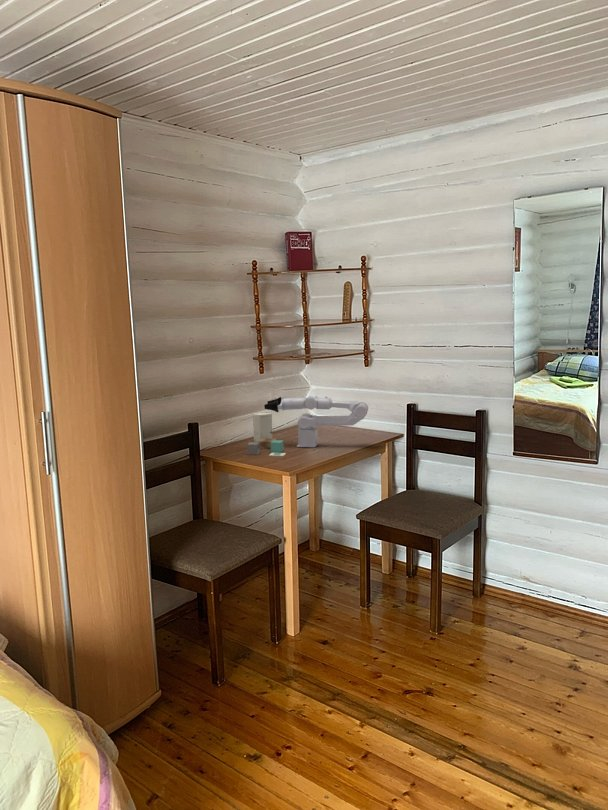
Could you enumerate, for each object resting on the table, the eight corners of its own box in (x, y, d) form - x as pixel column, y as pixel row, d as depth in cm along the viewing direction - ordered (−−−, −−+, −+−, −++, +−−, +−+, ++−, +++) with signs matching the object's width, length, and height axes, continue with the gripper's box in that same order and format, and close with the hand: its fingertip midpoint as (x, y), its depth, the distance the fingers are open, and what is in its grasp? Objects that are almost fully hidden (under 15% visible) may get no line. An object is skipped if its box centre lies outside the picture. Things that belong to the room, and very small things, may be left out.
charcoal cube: (260, 452, 317) (260, 442, 316) (257, 455, 312) (256, 444, 311) (250, 452, 318) (250, 442, 317) (247, 454, 313) (246, 444, 312)
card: (285, 453, 313) (285, 452, 313) (283, 456, 308) (283, 455, 308) (271, 453, 315) (271, 452, 315) (268, 455, 310) (268, 454, 310)
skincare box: (260, 443, 336) (259, 415, 333) (253, 442, 340) (252, 413, 338) (273, 441, 341) (272, 413, 339) (265, 439, 346) (264, 411, 343)
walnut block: (277, 446, 331) (277, 438, 330) (273, 449, 323) (273, 441, 323) (262, 445, 333) (262, 438, 332) (257, 449, 325) (257, 441, 324)
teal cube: (283, 450, 320) (283, 440, 320) (280, 452, 316) (280, 442, 315) (273, 450, 322) (273, 440, 321) (270, 452, 317) (270, 442, 316)
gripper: (294, 392, 333) (268, 394, 336) (289, 398, 319) (262, 400, 322) (295, 406, 335) (269, 407, 337) (290, 413, 321) (263, 414, 323)
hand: (266, 405), depth 329 cm, fingers open, 7 cm apart
